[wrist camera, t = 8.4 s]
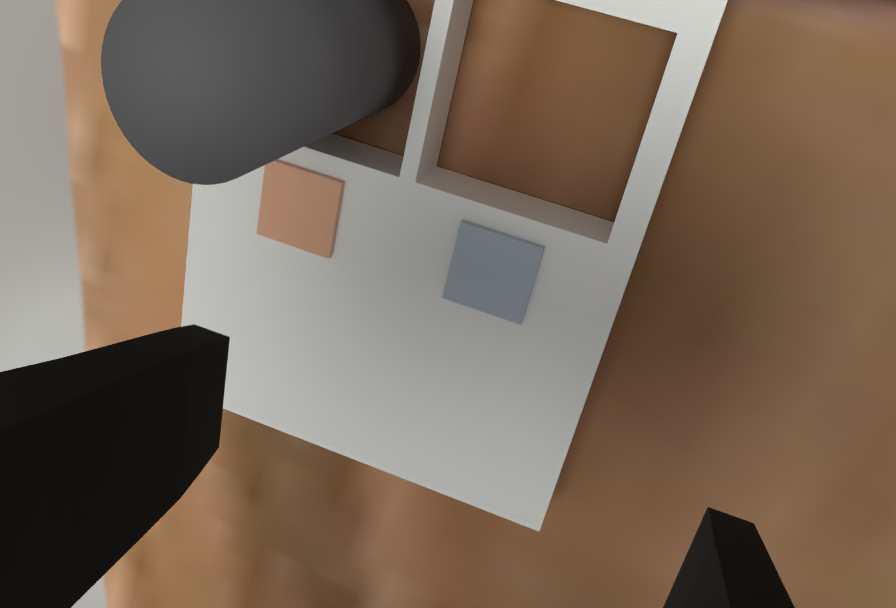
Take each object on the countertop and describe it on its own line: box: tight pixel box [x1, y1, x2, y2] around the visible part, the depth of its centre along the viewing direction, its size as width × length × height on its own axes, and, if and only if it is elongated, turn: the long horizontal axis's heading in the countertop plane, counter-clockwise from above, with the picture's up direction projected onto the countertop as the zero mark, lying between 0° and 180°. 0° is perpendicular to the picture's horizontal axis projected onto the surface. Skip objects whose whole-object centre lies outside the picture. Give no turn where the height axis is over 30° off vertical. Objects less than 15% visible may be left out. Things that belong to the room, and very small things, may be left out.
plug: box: [101, 0, 420, 185], centre depth 17 cm, size 3×3×7 cm
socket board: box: [181, 0, 728, 531], centre depth 20 cm, size 14×11×2 cm
